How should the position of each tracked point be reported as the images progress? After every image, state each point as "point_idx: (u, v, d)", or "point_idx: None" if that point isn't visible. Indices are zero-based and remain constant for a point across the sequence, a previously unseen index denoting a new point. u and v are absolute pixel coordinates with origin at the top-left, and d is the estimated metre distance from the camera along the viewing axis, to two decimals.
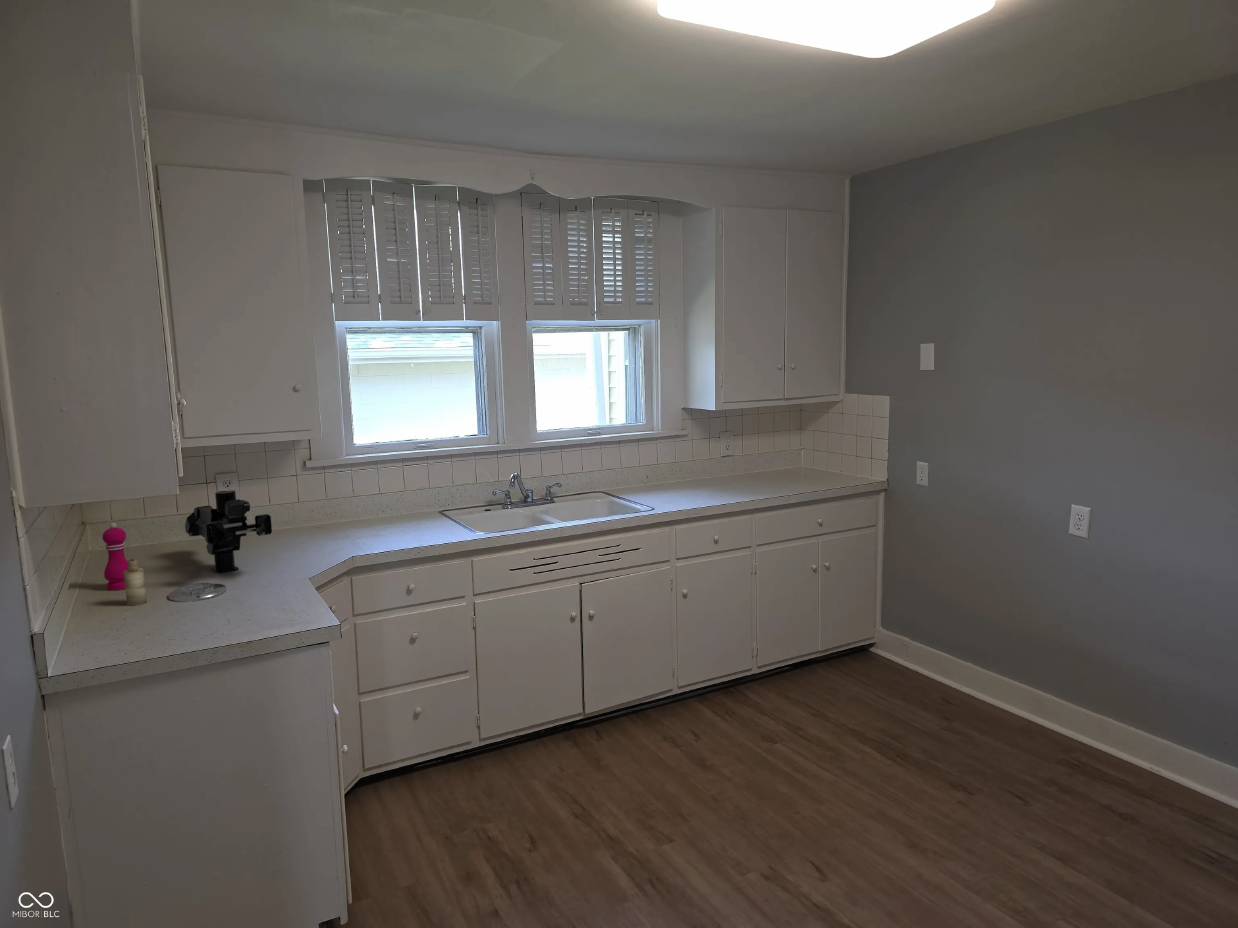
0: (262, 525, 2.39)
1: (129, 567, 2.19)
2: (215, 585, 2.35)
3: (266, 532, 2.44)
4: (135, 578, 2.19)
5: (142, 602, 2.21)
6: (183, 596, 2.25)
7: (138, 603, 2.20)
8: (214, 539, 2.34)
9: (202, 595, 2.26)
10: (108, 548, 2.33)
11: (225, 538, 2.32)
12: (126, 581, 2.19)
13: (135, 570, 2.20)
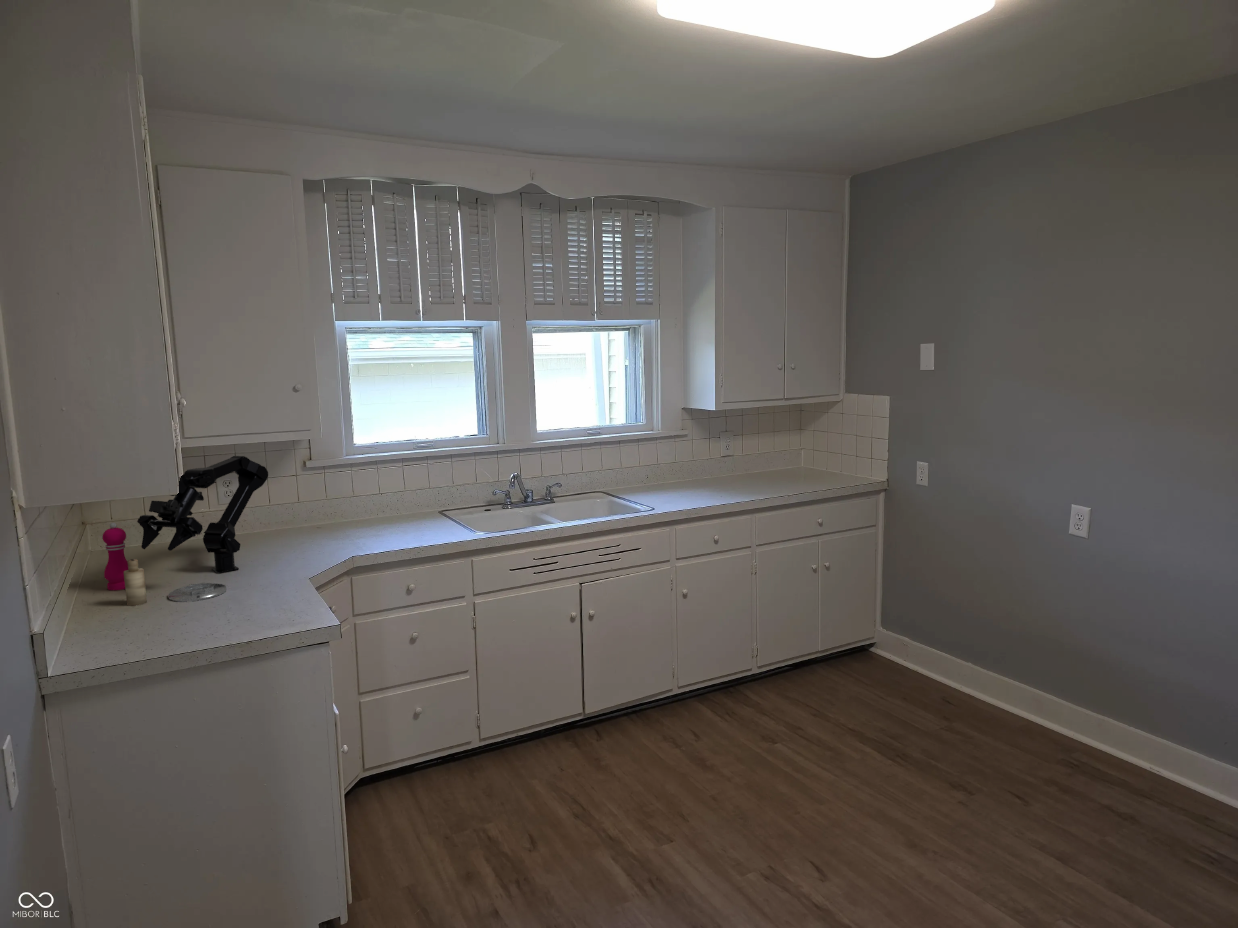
0: (172, 540, 2.27)
1: (129, 567, 2.19)
2: (215, 585, 2.35)
3: (192, 535, 2.31)
4: (135, 578, 2.19)
5: (142, 602, 2.21)
6: (183, 596, 2.25)
7: (138, 603, 2.20)
8: None
9: (202, 595, 2.26)
10: (108, 548, 2.33)
11: None
12: (126, 581, 2.19)
13: (135, 570, 2.20)
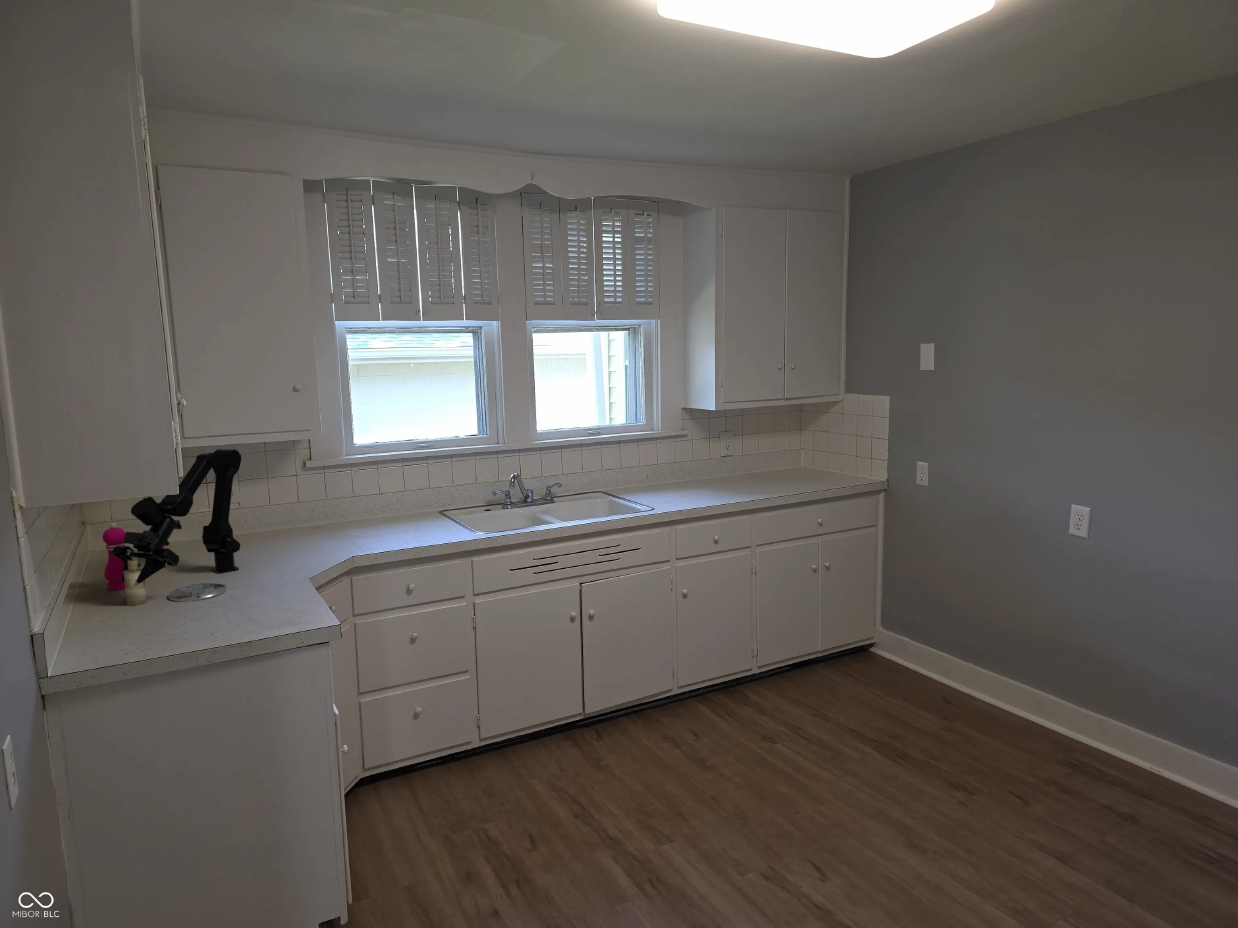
0: (141, 572, 2.20)
1: (129, 567, 2.19)
2: (215, 585, 2.35)
3: (162, 566, 2.24)
4: (135, 578, 2.19)
5: (142, 602, 2.21)
6: (183, 596, 2.25)
7: (138, 603, 2.20)
8: None
9: (202, 595, 2.26)
10: (108, 548, 2.33)
11: None
12: (126, 581, 2.19)
13: (135, 570, 2.20)
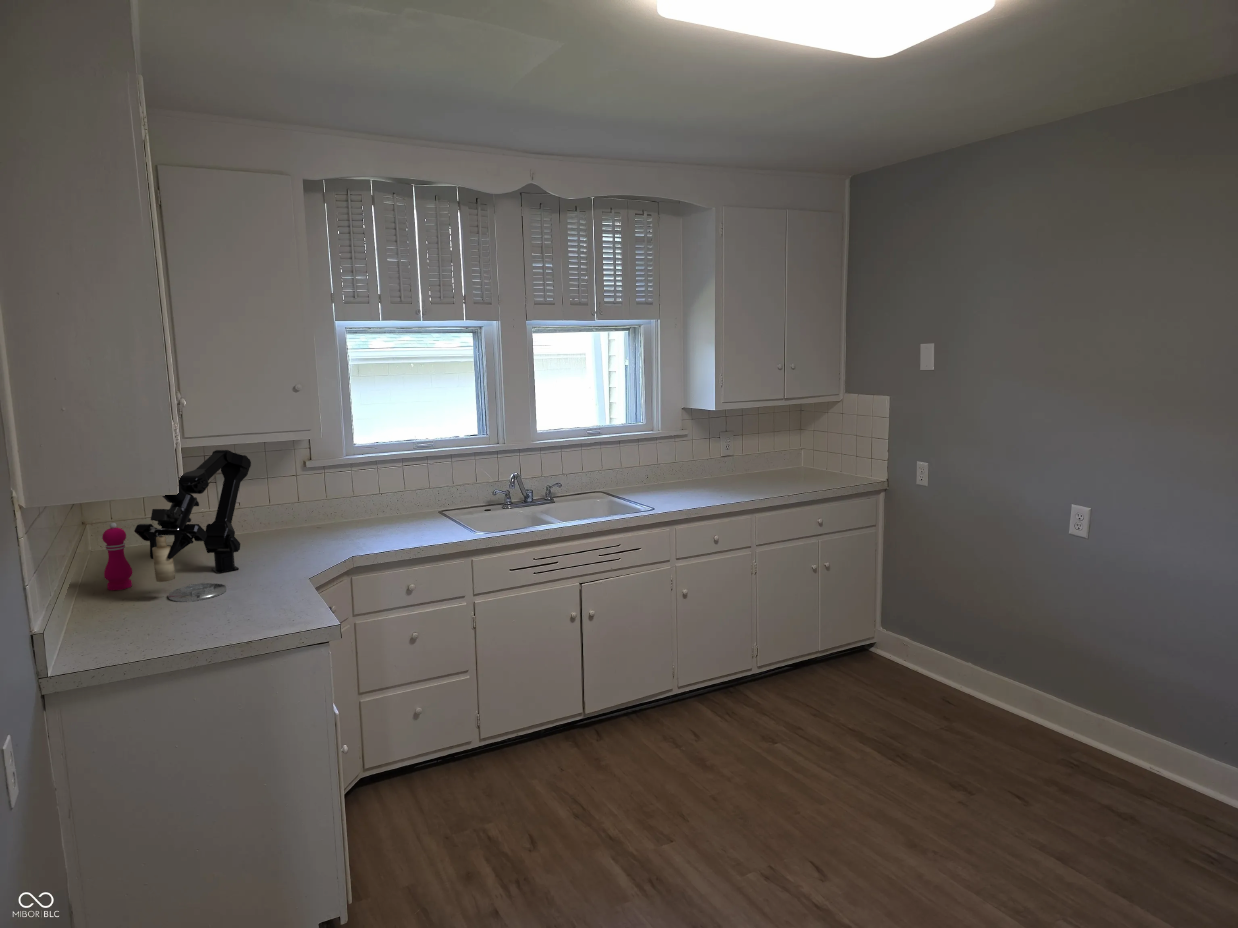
0: (172, 548, 2.23)
1: (158, 544, 2.22)
2: (215, 585, 2.35)
3: (190, 542, 2.27)
4: (165, 554, 2.22)
5: (172, 578, 2.24)
6: (183, 596, 2.25)
7: (168, 579, 2.23)
8: None
9: (202, 595, 2.26)
10: (108, 548, 2.33)
11: None
12: (156, 557, 2.21)
13: (164, 546, 2.22)
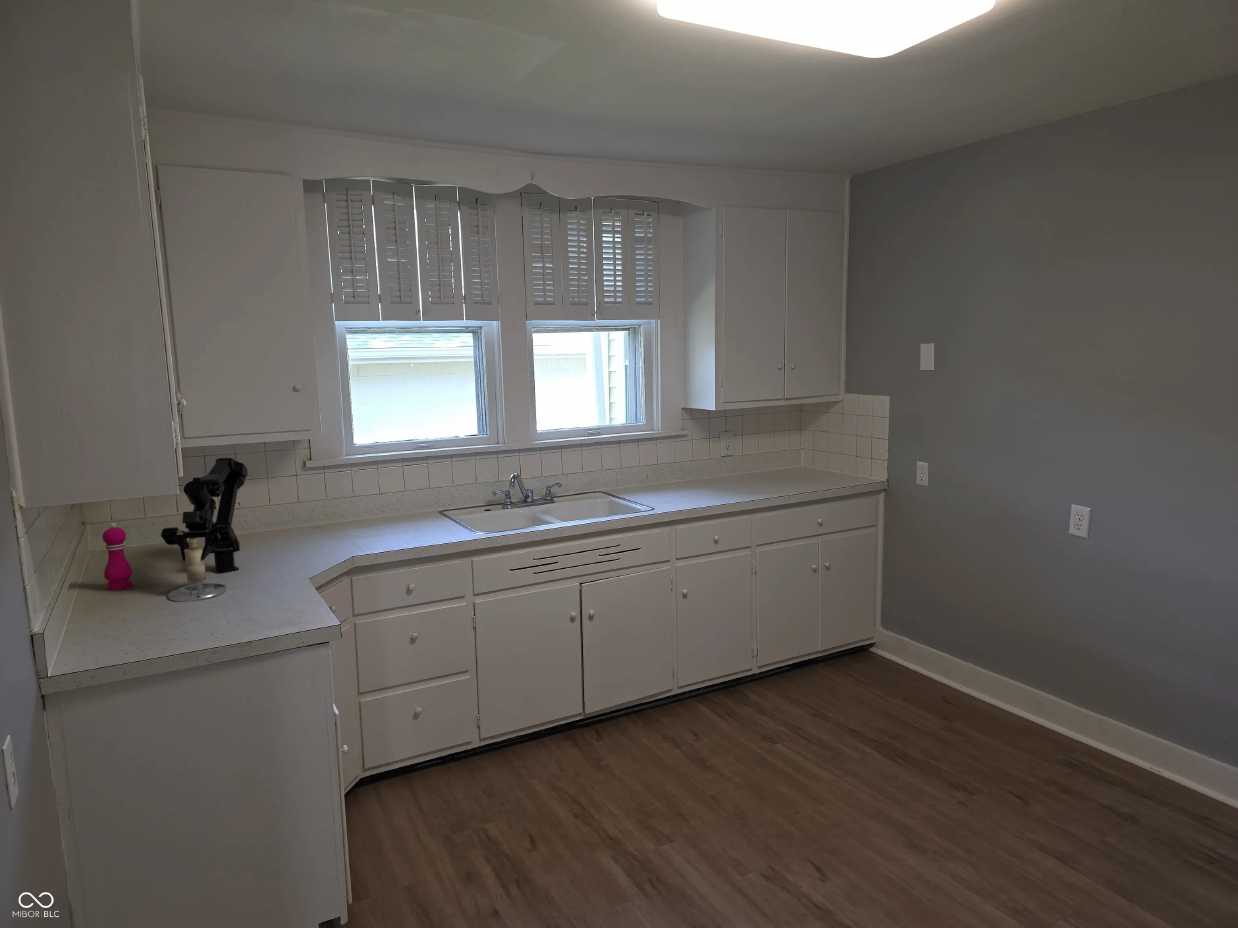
0: (204, 549, 2.28)
1: (191, 545, 2.27)
2: (215, 585, 2.35)
3: (218, 543, 2.34)
4: (199, 555, 2.27)
5: (204, 578, 2.29)
6: (183, 596, 2.25)
7: (202, 579, 2.28)
8: (179, 544, 2.32)
9: (202, 595, 2.26)
10: (108, 548, 2.33)
11: None
12: (190, 559, 2.26)
13: (197, 548, 2.28)
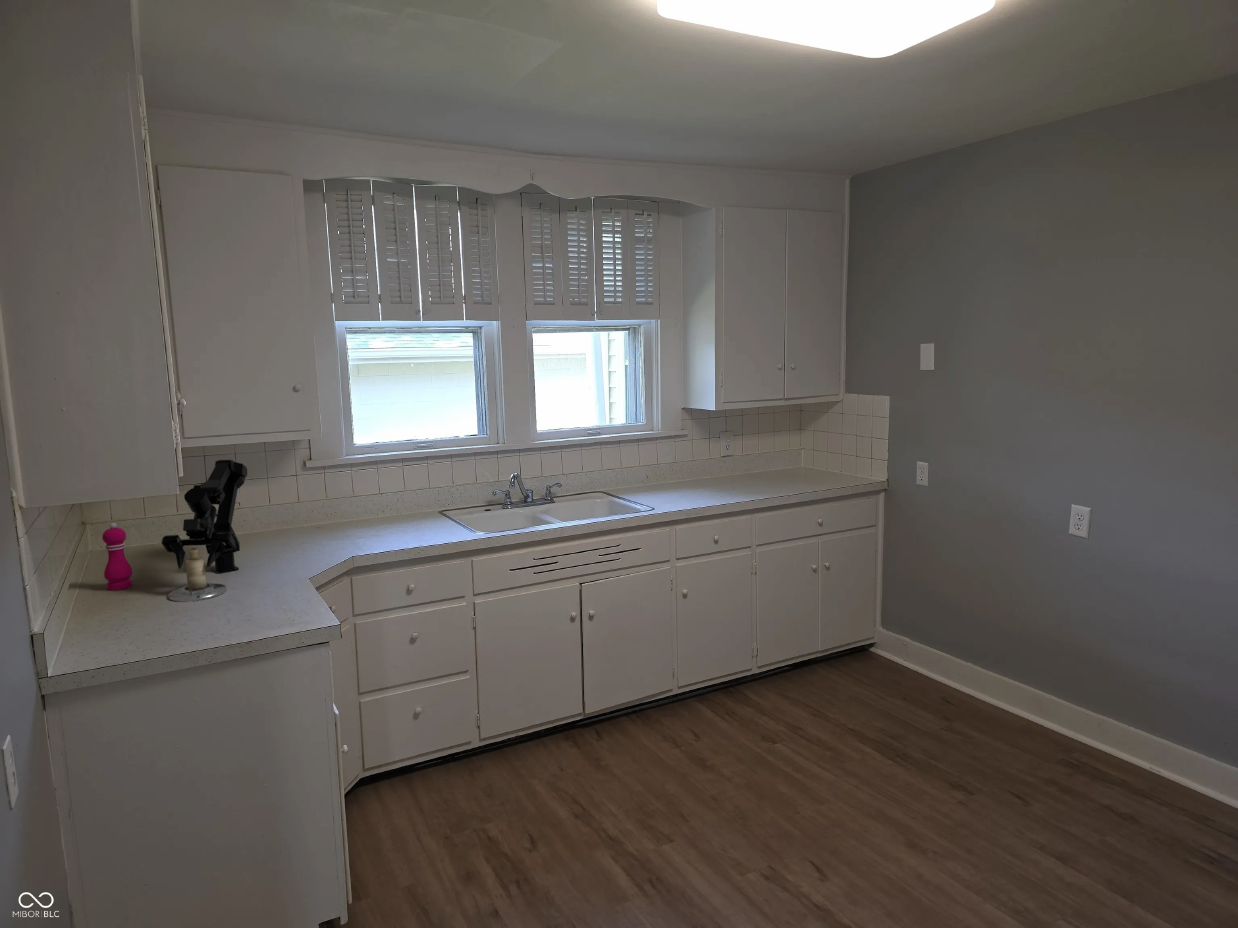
0: (210, 556, 2.29)
1: (192, 556, 2.27)
2: (215, 585, 2.35)
3: (223, 550, 2.34)
4: (200, 565, 2.28)
5: None
6: (183, 596, 2.25)
7: None
8: (175, 552, 2.32)
9: (202, 595, 2.26)
10: (108, 548, 2.33)
11: None
12: (191, 569, 2.27)
13: (198, 558, 2.28)
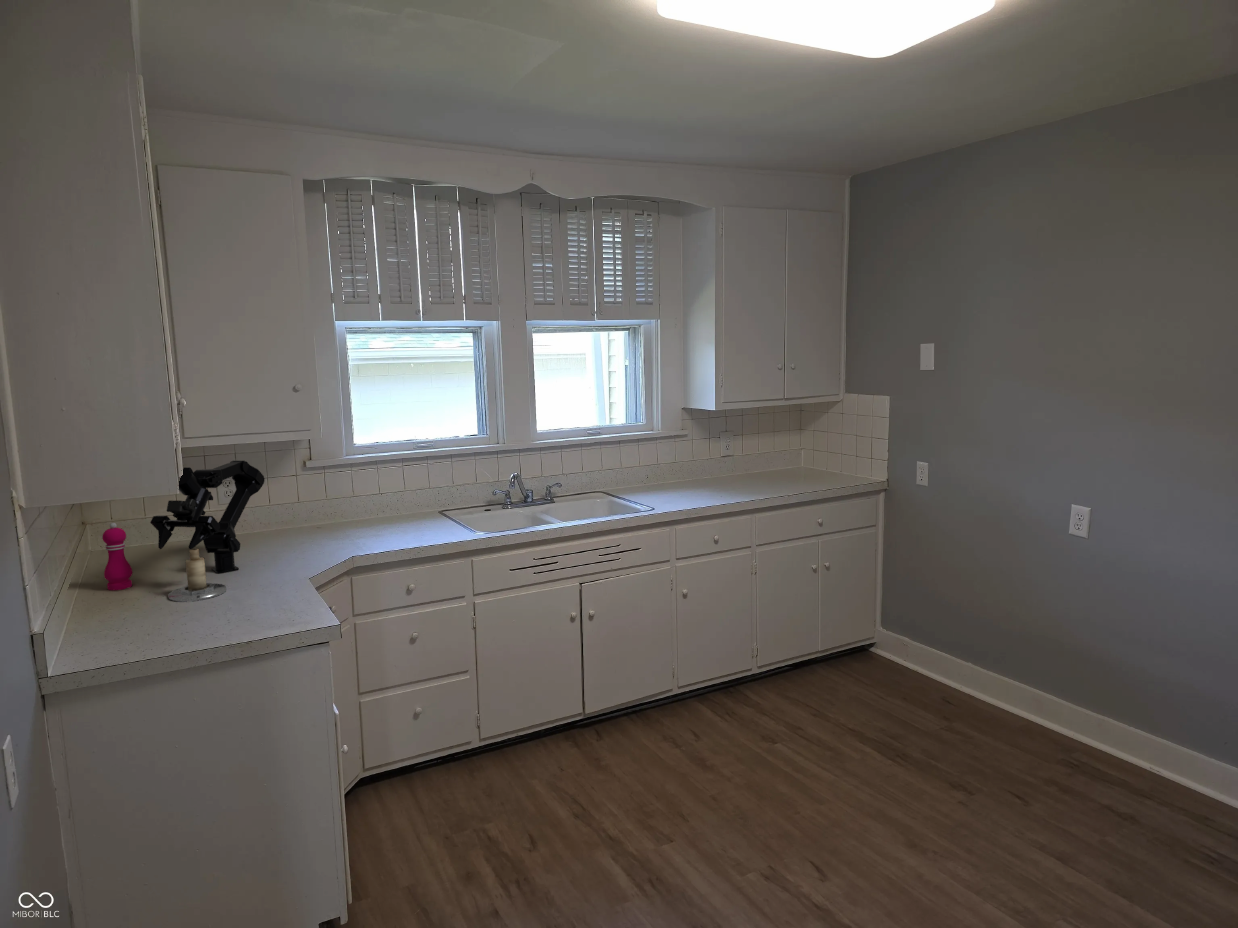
0: (193, 539, 2.30)
1: (192, 556, 2.27)
2: (215, 585, 2.35)
3: (210, 534, 2.34)
4: (200, 565, 2.28)
5: None
6: (183, 596, 2.25)
7: None
8: None
9: (202, 595, 2.26)
10: (108, 548, 2.33)
11: None
12: (191, 569, 2.27)
13: (198, 558, 2.28)
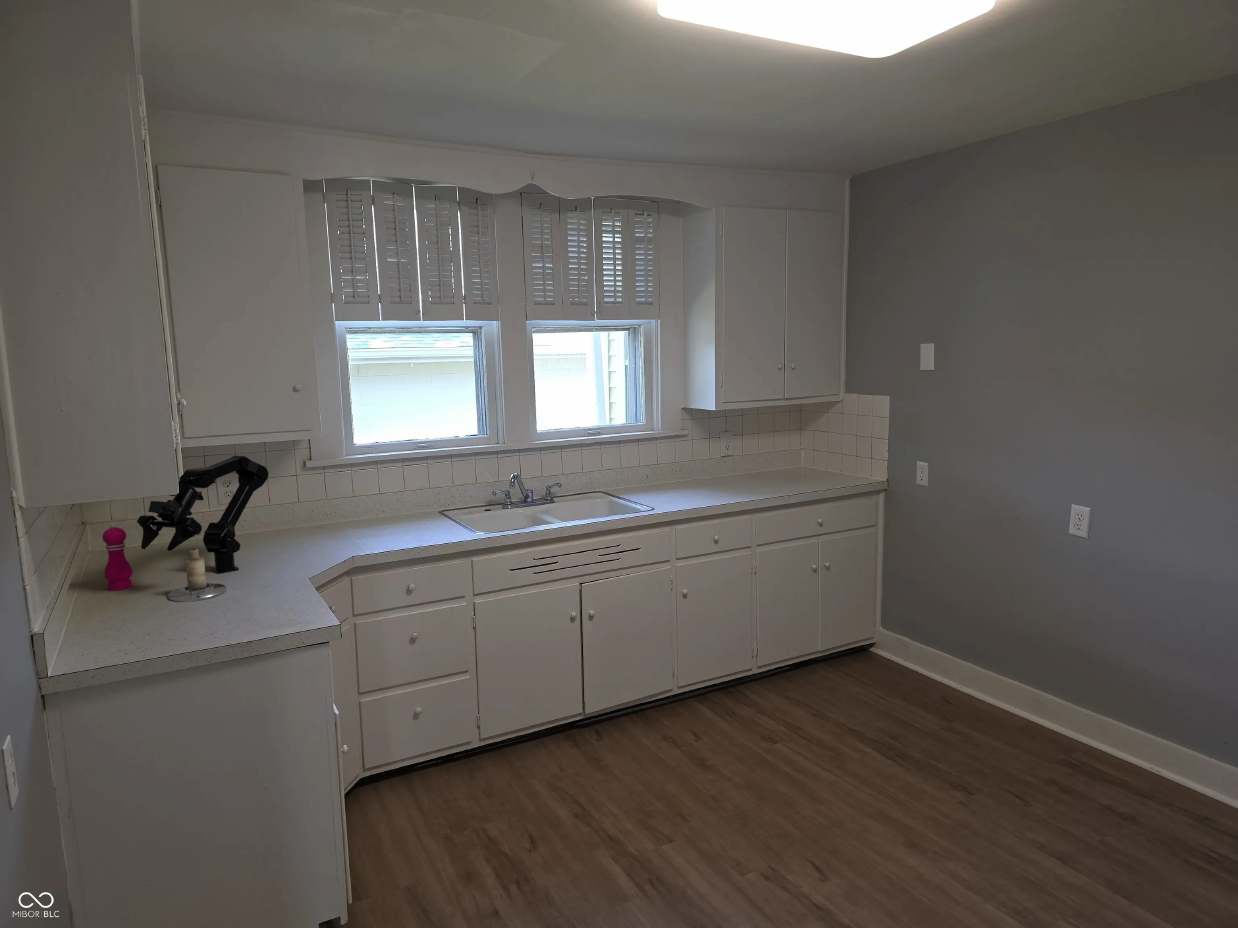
0: (172, 540, 2.27)
1: (192, 556, 2.27)
2: (215, 585, 2.35)
3: (191, 535, 2.31)
4: (200, 565, 2.28)
5: None
6: (183, 596, 2.25)
7: None
8: None
9: (202, 595, 2.26)
10: (108, 548, 2.33)
11: None
12: (191, 570, 2.27)
13: (198, 558, 2.28)
